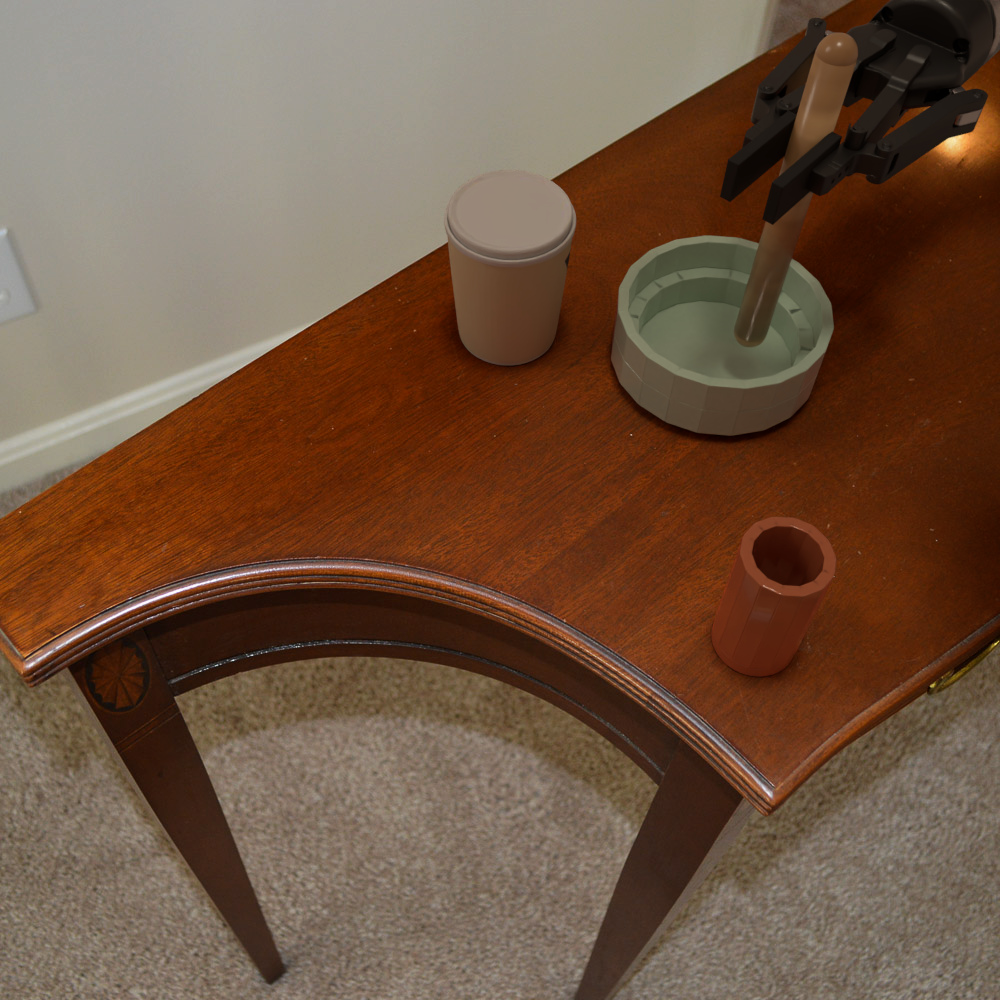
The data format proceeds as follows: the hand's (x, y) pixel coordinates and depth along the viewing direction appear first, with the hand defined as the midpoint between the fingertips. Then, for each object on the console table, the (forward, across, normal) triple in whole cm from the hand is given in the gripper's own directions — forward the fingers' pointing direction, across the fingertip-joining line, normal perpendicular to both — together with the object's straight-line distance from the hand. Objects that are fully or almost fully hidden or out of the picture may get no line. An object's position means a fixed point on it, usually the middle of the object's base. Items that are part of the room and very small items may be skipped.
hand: (751, 192), depth 64 cm
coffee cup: (+3, +16, -21) cm, 27 cm away
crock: (+13, -14, -21) cm, 28 cm away
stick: (-6, 0, -17) cm, 18 cm away
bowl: (-5, +2, -21) cm, 21 cm away
